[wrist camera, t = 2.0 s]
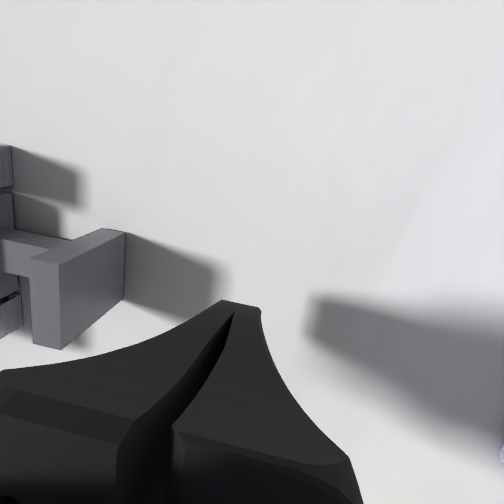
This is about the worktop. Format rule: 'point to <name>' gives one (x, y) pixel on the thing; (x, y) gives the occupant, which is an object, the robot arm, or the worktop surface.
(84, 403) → the robot arm
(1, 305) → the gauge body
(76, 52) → the worktop surface
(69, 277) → the grey hook
